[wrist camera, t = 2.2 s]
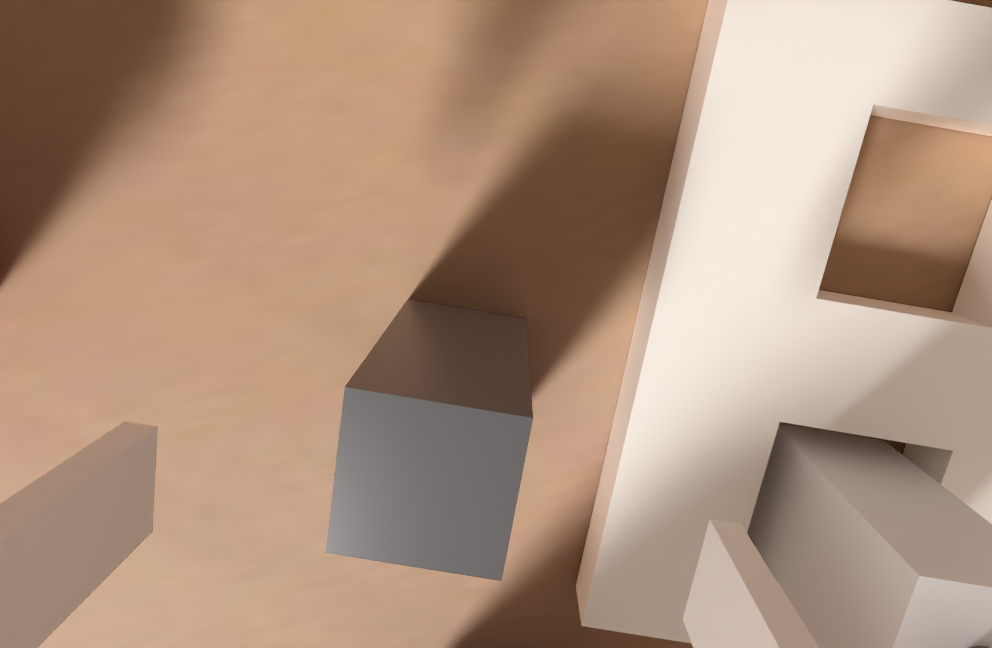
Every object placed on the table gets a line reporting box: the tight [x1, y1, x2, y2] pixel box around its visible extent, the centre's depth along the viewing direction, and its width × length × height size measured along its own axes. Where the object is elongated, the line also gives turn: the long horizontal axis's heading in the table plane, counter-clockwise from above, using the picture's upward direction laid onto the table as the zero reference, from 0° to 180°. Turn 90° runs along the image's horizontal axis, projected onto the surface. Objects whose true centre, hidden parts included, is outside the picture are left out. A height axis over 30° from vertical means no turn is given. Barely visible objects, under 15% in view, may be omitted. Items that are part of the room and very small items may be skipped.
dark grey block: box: [326, 299, 533, 581], centre depth 22 cm, size 5×5×10 cm
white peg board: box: [576, 0, 992, 648], centre depth 20 cm, size 24×17×12 cm
